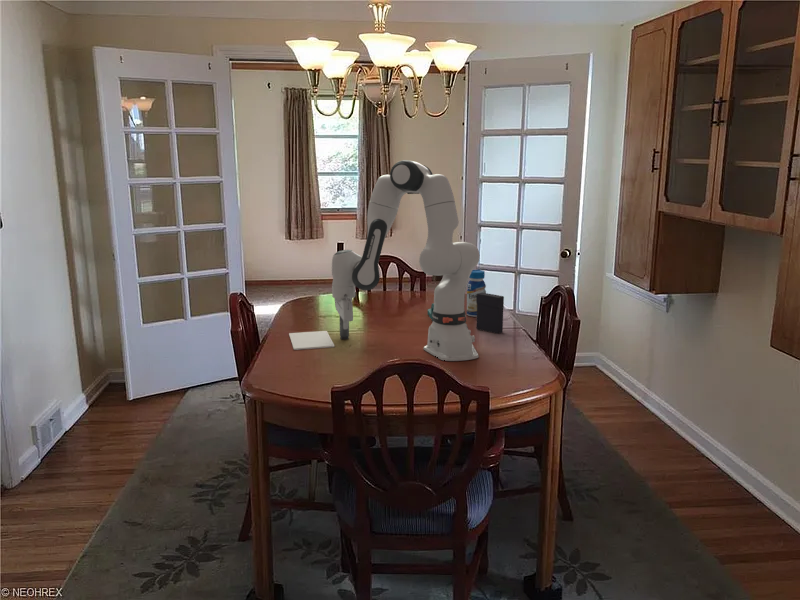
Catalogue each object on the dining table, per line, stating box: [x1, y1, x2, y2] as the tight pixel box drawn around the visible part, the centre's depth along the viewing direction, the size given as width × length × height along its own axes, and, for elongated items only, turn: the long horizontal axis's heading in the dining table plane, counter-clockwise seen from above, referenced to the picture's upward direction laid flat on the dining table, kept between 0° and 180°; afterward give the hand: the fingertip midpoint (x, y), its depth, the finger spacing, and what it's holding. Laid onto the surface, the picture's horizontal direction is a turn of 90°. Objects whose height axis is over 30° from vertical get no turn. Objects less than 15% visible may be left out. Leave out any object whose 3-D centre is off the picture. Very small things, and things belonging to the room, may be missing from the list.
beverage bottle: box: [466, 269, 487, 318], centre depth 283 cm, size 8×8×20 cm
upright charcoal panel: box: [475, 292, 505, 335], centre depth 258 cm, size 11×4×15 cm, turn 47°
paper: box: [288, 330, 336, 351], centre depth 245 cm, size 21×15×1 cm
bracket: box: [427, 302, 434, 322], centre depth 280 cm, size 18×7×8 cm, turn 8°
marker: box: [338, 309, 350, 340], centre depth 247 cm, size 4×4×12 cm
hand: (344, 327), depth 247 cm, fingers closed on marker, 4 cm apart
